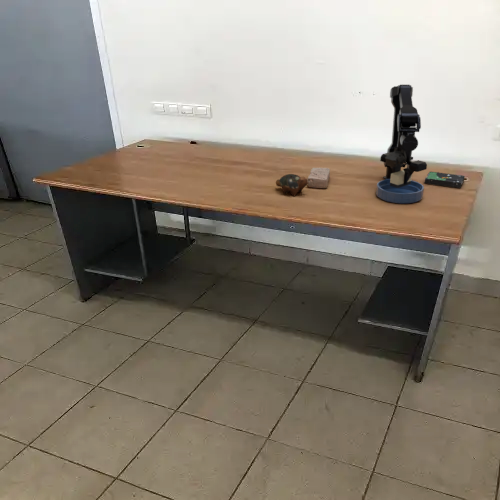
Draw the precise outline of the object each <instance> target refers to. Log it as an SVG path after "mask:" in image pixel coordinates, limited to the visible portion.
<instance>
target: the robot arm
mask: <svg viewBox="0 0 500 500" xmlns="http://www.w3.org/2000/svg"><path fill="white" fill-rule="evenodd" d="M413 88H414V87H413V86H412V85H411V84H399V85H397V86H393V87H391V88H390V91H389V98H390V103H391V105H392V107H393V119H392V120H393V121H392V135H391V143H390V145H389V146H388V148H387V150H386V152H384V153H382V154H381V155H380V159H379V160H380V162H382V163H383V166H384V168H386V171H385V176H384V175H383V176H382V179H383V180H385V179H391V174H392V173H395V172H399V171H402V170H404V172H405V174H404V184H406V183H407V181H408V180H409V178H410V177H411V175H412V176H413V174H414V173H417V172H423V171H425V170H427V168H428V164H427V162H426V161H423V160H414V156H413V155H412V153H413V151H415V150H416V149H417V148H418V146H419V140H418V138H417V137H416V133H420V130H421V129H422V122H421V116H420V114H419V112H418V109H417V108H416V107H414V105H413V91H414V89H413ZM413 160H414V161H413Z"/></svg>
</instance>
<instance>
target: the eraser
mask: <svg viewBox="0 0 500 500" xmlns="http://www.w3.org/2000/svg"><path fill="white" fill-rule="evenodd" d="M404 174H405V172H404V170H403V169H401V171H399V172H395V173H392V174H391V179H390V186H393V187H395V188H400V187H403V186H406V185H409V184H411V180H412V178H413V174H412V175H411V177H410V178H409V180H408V181H407V183H406V184H404Z"/></svg>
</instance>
